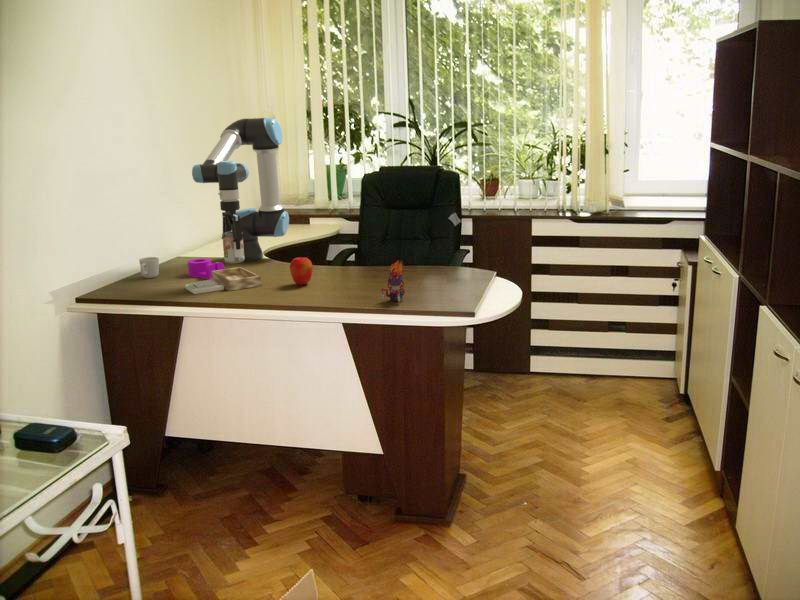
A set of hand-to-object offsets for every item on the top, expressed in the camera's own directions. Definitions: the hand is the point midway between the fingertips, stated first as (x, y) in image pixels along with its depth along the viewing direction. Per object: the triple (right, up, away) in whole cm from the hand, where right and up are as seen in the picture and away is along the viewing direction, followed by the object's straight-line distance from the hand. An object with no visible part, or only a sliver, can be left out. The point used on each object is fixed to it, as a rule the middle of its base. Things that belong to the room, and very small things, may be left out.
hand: (233, 255), depth 321 cm
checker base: (-11, -14, -6) cm, 18 cm away
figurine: (+65, -19, -32) cm, 75 cm away
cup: (-40, -9, +17) cm, 44 cm away
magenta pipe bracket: (-16, -8, +19) cm, 26 cm away
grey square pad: (-11, -12, -6) cm, 17 cm away
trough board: (0, -11, +3) cm, 12 cm away
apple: (+28, -12, -2) cm, 31 cm away
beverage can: (0, -3, +1) cm, 3 cm away
